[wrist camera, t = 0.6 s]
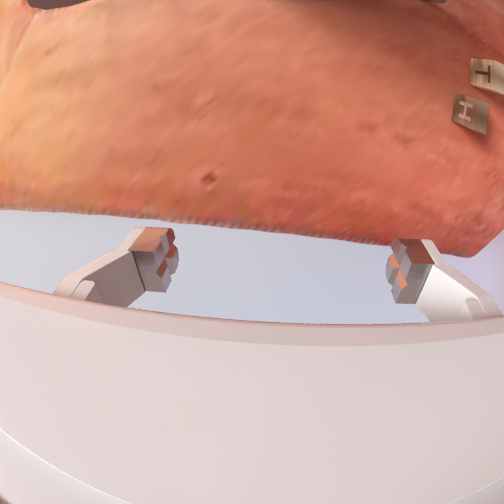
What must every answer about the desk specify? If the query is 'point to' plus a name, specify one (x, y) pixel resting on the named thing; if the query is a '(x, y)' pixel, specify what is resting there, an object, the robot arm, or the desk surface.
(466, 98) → the wooden letter h block
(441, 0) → the pocket watch
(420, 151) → the desk surface
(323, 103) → the desk surface
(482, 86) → the wooden letter t block
